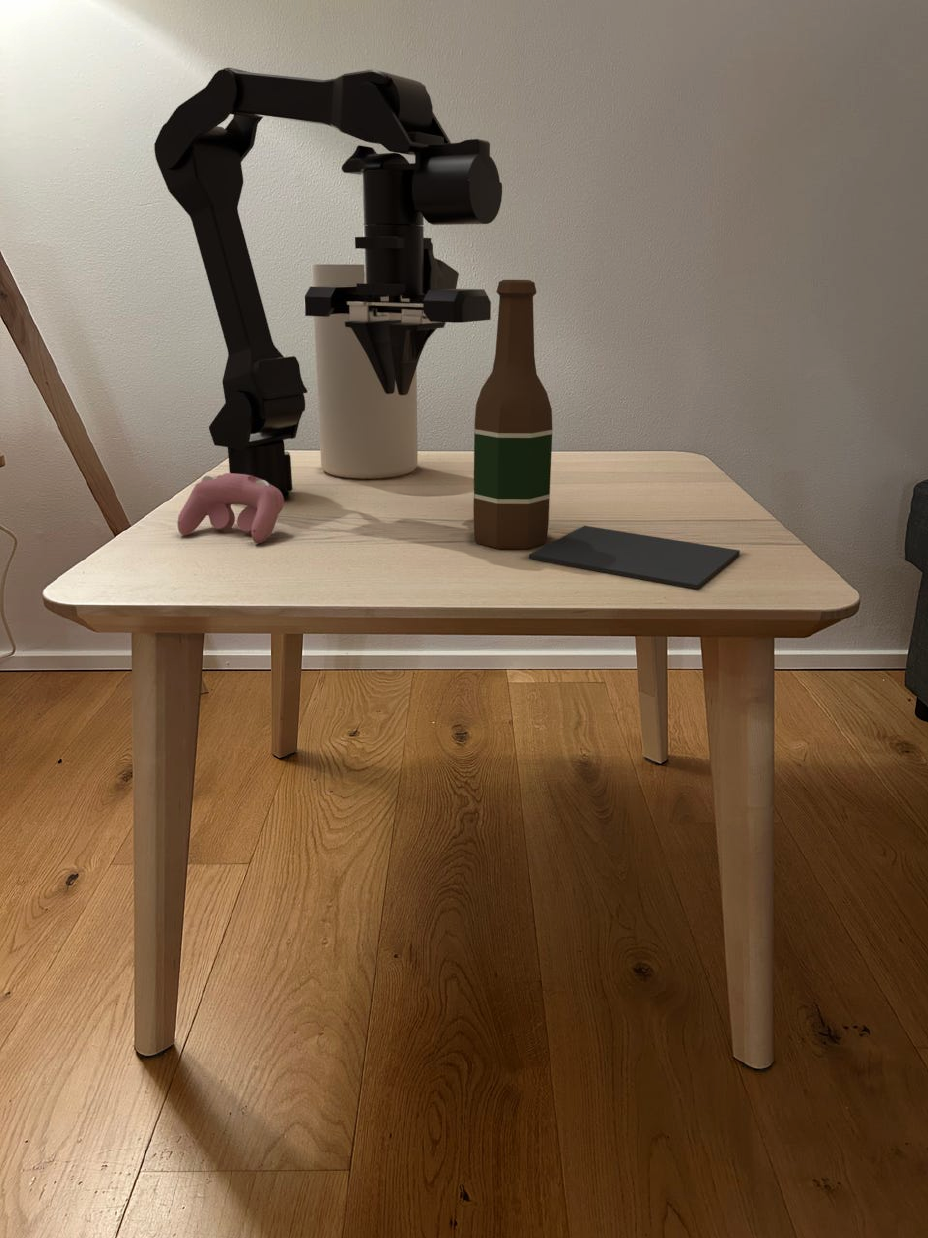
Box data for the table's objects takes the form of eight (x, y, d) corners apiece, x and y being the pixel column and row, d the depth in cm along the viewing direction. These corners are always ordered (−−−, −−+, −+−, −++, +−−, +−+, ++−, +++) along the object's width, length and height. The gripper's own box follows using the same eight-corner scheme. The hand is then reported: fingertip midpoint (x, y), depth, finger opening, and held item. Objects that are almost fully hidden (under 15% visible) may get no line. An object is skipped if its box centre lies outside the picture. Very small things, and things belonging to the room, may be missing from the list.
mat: (528, 558, 86) (528, 554, 86) (584, 529, 96) (584, 525, 96) (697, 589, 79) (697, 585, 78) (739, 554, 88) (740, 550, 88)
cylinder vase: (301, 471, 121) (289, 264, 112) (364, 456, 130) (358, 264, 122) (375, 484, 114) (369, 265, 105) (436, 467, 124) (435, 265, 115)
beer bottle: (458, 545, 90) (459, 279, 82) (486, 525, 97) (491, 278, 88) (535, 554, 88) (545, 281, 79) (559, 533, 94) (570, 279, 86)
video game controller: (281, 551, 93) (293, 482, 94) (259, 542, 89) (271, 470, 89) (196, 541, 96) (208, 475, 97) (170, 532, 92) (182, 462, 92)
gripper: (521, 227, 90) (516, 392, 96) (366, 229, 100) (371, 380, 105) (459, 223, 82) (458, 405, 87) (296, 226, 91) (305, 390, 96)
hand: (396, 394), depth 94 cm, fingers closed
